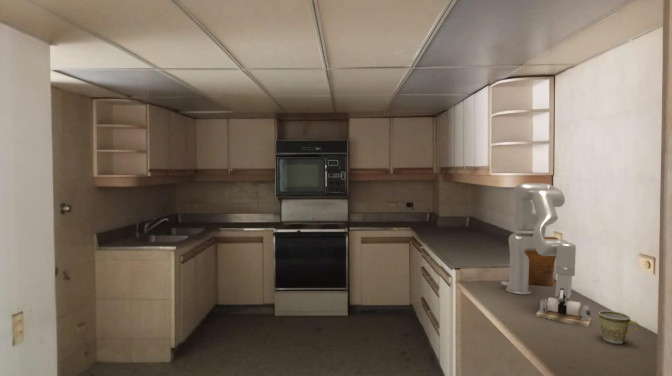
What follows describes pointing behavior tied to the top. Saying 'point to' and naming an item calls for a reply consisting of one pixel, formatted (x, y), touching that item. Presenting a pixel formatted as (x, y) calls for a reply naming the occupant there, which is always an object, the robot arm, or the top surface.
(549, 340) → the top surface
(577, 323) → the roll cradle
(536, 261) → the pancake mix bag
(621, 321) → the ceramic cup
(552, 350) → the top surface
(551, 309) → the paper roll
